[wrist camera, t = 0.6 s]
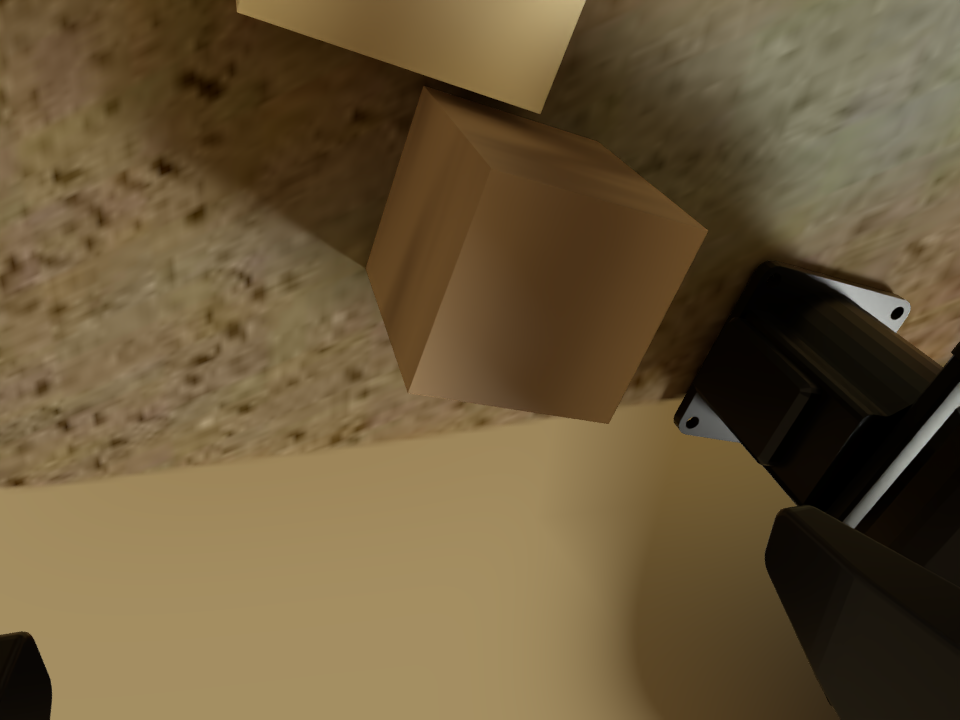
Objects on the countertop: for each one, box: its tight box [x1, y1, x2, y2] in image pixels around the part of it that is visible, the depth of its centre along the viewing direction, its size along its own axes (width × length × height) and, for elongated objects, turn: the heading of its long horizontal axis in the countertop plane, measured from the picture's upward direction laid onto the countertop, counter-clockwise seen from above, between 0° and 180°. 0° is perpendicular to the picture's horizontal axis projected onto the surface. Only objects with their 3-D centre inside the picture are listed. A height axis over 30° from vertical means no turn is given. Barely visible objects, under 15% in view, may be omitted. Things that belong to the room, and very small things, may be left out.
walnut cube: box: [366, 86, 708, 424], centre depth 19 cm, size 5×5×6 cm
